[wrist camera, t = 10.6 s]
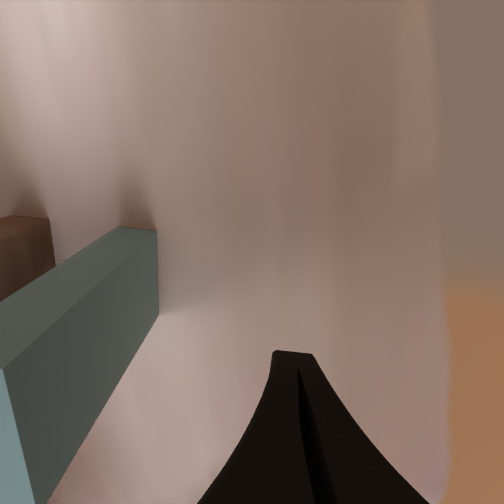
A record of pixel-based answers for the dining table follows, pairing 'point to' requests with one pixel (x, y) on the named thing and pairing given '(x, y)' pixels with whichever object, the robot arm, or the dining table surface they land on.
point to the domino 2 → (69, 355)
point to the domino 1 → (23, 252)
